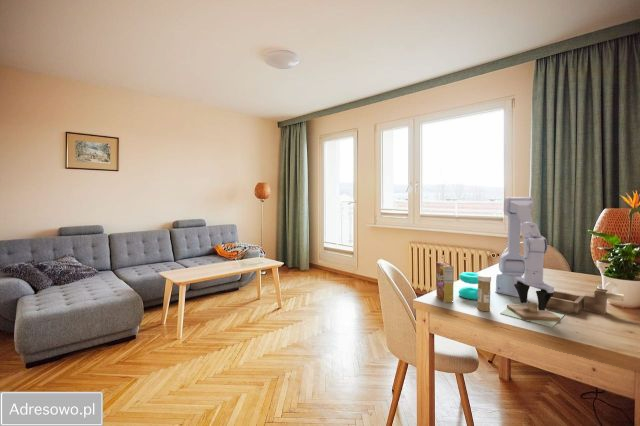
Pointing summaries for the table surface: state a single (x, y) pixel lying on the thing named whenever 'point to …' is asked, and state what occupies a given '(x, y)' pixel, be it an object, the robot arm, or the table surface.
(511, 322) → the table surface
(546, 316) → the lid
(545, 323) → the mat
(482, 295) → the sprinkles bottle
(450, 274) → the candy box
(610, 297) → the cream rectangular bar
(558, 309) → the toolbox
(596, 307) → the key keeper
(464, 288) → the donuts
